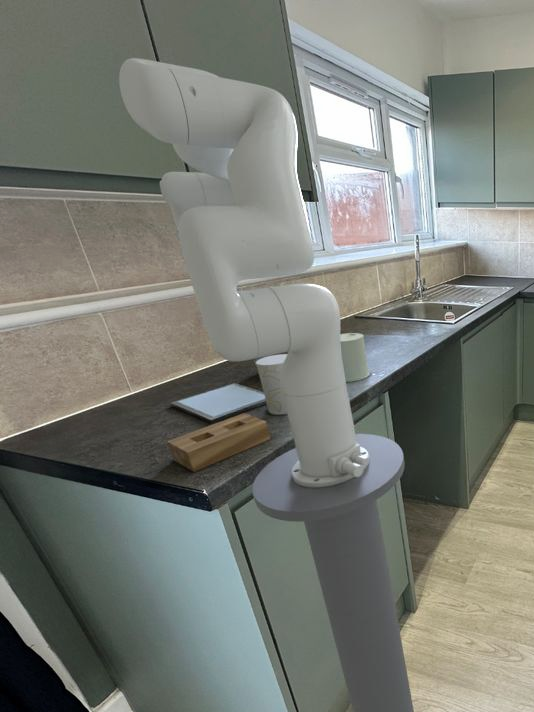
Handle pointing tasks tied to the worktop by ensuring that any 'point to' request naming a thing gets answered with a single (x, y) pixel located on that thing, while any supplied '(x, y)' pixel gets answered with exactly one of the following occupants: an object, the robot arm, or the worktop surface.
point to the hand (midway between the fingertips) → (223, 319)
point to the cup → (272, 382)
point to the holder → (218, 441)
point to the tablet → (221, 402)
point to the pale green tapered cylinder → (354, 356)
